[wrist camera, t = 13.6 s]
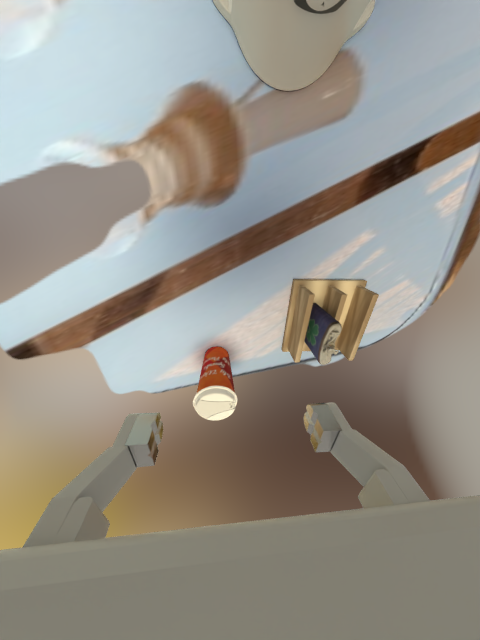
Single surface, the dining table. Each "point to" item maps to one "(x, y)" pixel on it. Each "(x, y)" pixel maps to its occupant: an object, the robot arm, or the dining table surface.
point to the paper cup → (215, 386)
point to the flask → (322, 334)
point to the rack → (337, 300)
